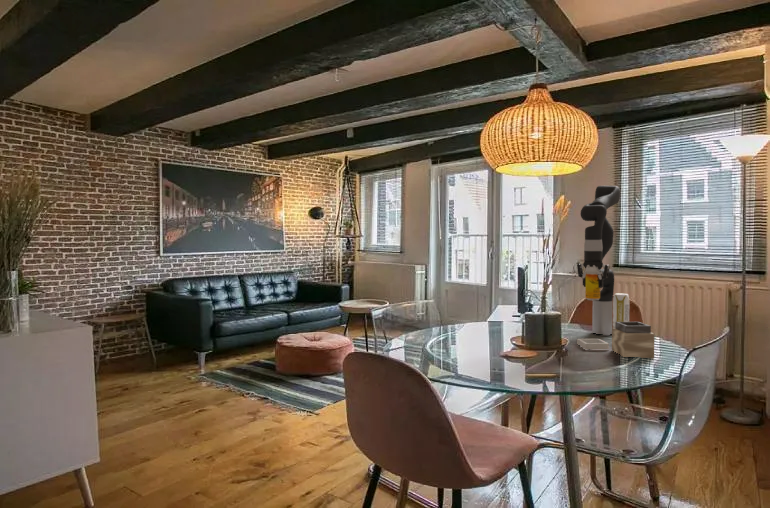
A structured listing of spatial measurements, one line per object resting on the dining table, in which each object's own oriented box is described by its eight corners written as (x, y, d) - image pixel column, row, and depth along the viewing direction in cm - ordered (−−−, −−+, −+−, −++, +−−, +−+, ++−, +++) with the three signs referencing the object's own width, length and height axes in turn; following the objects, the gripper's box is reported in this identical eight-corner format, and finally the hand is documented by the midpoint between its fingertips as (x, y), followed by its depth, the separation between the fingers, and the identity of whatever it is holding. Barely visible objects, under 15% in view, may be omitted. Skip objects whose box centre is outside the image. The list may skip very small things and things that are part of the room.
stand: (611, 350, 212) (612, 321, 211) (639, 350, 211) (639, 321, 211) (624, 357, 200) (625, 326, 199) (654, 357, 199) (654, 326, 199)
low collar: (577, 345, 223) (577, 338, 223) (599, 345, 223) (599, 338, 223) (585, 350, 213) (585, 343, 213) (608, 350, 213) (608, 343, 213)
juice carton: (629, 328, 261) (629, 293, 260) (627, 331, 253) (628, 295, 253) (614, 327, 265) (614, 292, 264) (612, 330, 257) (612, 294, 257)
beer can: (595, 301, 213) (596, 267, 212) (582, 299, 217) (583, 266, 217) (602, 299, 217) (602, 266, 216) (589, 298, 221) (589, 265, 221)
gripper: (573, 249, 219) (573, 286, 219) (606, 250, 208) (605, 289, 209) (581, 249, 224) (580, 285, 225) (613, 250, 213) (612, 287, 214)
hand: (592, 287), depth 217 cm, fingers closed on beer can, 6 cm apart
